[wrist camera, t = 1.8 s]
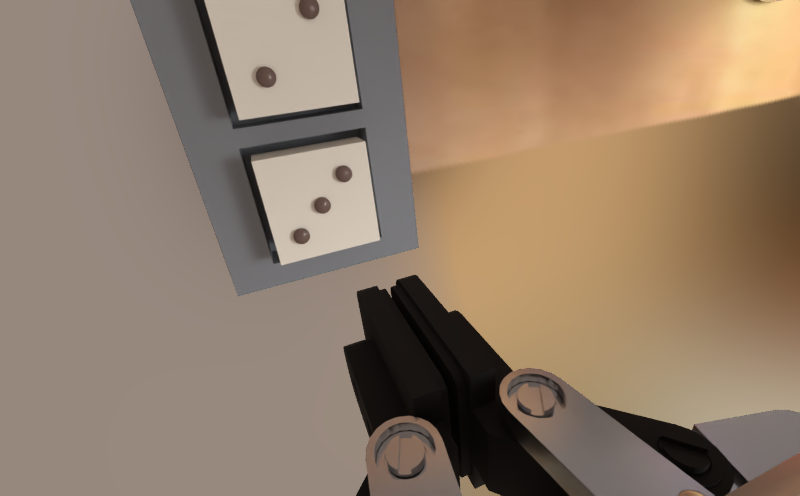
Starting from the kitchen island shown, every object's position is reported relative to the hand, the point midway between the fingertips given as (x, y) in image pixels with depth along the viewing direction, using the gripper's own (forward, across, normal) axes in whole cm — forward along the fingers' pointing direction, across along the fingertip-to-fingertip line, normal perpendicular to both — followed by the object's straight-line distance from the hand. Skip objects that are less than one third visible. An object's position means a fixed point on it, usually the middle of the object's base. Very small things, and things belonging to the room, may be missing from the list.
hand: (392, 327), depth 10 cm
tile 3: (+14, 0, 0) cm, 14 cm away
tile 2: (+14, 0, -8) cm, 16 cm away
